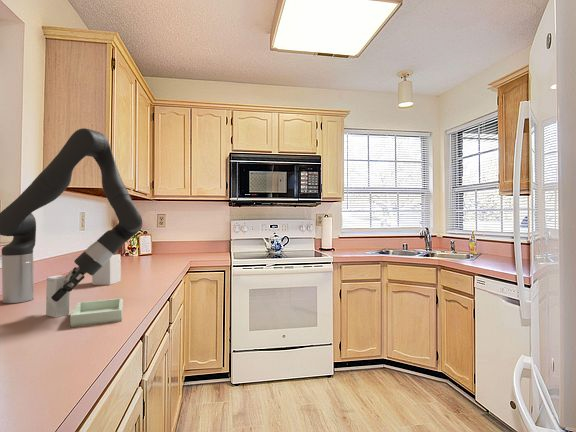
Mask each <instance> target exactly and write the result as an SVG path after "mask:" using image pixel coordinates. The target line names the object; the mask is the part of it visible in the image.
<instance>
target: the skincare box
mask: <svg viewBox="0 0 576 432" xmlns="http://www.w3.org/2000/svg"><path fill="white" fill-rule="evenodd" d="M66 279H67V277H66V275H59V274H58V275H53V276H47V277H46V301H45V302H46V303H45V310H46V311H45V315H46V316H49V317H50V318H60V317H65V316H68V315H70V294H71V293H70V292H71V291H70V292H68V293H66V294H65V295H64V296H63V297H62V298H61V299H60V300H59V301H57V302H56V301H54V300H53V299H52V298H51V297H52V296H53V295H54V294H55V293H56V292H57V291H58V290H59V289H60V288H61V286H62V285H63V284H64V283H65V282H64V281H65V280H66ZM68 286H69V285H68ZM69 287H70V286H69ZM61 289H62V288H61Z"/></svg>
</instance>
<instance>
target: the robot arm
mask: <svg viewBox="0 0 576 432" xmlns="http://www.w3.org/2000/svg"><path fill="white" fill-rule="evenodd" d="M112 150H113V149H112V147H111V145H110V142H109V140H108V138H107V137H106V135H105V134H103V133H101V132H99V131H96V130H93V129H89V128H79V129H77V130H75V131H74V132H73V133H72V134H71V135H70V137H69V138H68V140H67V141H66V142H65V143H64V145H63V147H61V149H60V151H59V152H58V153H57V154H56V156H55V157H54V158H53V159H52V160H51V161H50V163H49V164H48V165H47V166H46V167H45V168H43V170H42V171H41V172H40V173H39V174H38V175H37V176H36V177H35V179H34V180H33V181H32V182H31V183H30V184H29V185H28V186H27V188H25V189H24V191H22V193H21V194H20V195H19V196H18V197H17V198H16V199H15V200H14V201H12V202H11V203H10V204H8V205H7V206H6V207H5V208H4V209H2V211H0V236H3V237H13V238H12V240H11V242H10V243H8V244H6V245H5V246H3V247H2V248H1V278H2V279H1V284H2V286H1V287H2V289H1V292H2V297H1V299H2V300H1V301H2V302H1V303H3V304H17V303H25V302H28V301H31V300H34V296H35V295H34V293H35V289H34V288H35V287H34V285H35V284H34V283H35V282H34V248H35V245H36V237H37V236H36V235H37V221H36V218H35V217H36V216H34V214H33V212H35V211H37V210H38V209H40V208H42V207H45V206H46V205H48V204H50V203H52V202H53V201H55V200H56V199H58V198H59V197H60V196H61V195H62V194H63V193H64V192H65V191H66V190H67V189H68V187H69V186H70V184H71V182H72V175H73V170H74V169H75V167H76V166H77V165H78V163H80V162H81V161H82V160H83V159H84V158H86V157H90V158H93V159H94V161H95V162H96V163H97V165H98V168H99V169H100V174H101V187H102V190H103V193H104V195H105V197H106V199H107V200H108V202H109V205H110V206H111V208H112V209H113V210H114V214H115V215H116V217H117V219H118V220H117V221H118V223H117V224H116V225H115V226H114V227H113V228H112V229H109V230H107V231H106V232H104V234H102V235H101V236H100V237H98V238H97V239H96V241H95V242H93V243H92V244H90V245H89V246H88V247H87V248H86V249H85V250H84V251H83V252H82V253H81V254H80V255H78V257H77V258H75V259H74V260H73V261H74V264H75V265H77V266H78V267H77V266H74V268H72V269H71V270H70V271H69V272H68V273H67V274H66V275H65V276H66V277H67V279H66V280H65V281H64V282H65V283H64V284H63V285H62V286H61V288H62V289H61V288H60V289H59V290H58V291H57V292H56V293H55V294H54V295H53V296H52V297H51V298H52V299H53V300H54V301H56V302H57V301H59V300H60V299H61V298H62V297H63V296H64V295H65V294H66V293H68V292H72V291H73V289H75V287H76V286H78V285H79V284H80V283H81V281H83V280H84V279H85V277H86V276H85V275H86V274H88V275H89V276H92V275H94V274H95V273H96V272H97V271H98V270H99V269H100V268H101V267H102V266H103V265H104V264H105V263H106V262H107V261H108V260H109V259H110V258H111V257H112V255H113V254H116V253H117V252H118V251H119V250H120V249H121V248H122V246H123V245H125V243H126V242H128V241H129V240H130V239H132V238H133V237H134V236H135V235H137V234H138V233H139V231H141V229H142V228H143V217H142V215H141V214H140V212H139V210H138V209H137V206H136V205H135V204H134V202H133V199H132V197H131V195H130V193H129V191H128V189H127V187H126V186H125V183H124V182H123V179H122V177H121V174H120V172H119V169H118V166H117V163H116V160H115V157H114V154H113V151H112ZM68 285H69V286H70V287H69V286H68Z"/></svg>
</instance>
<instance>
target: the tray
mask: <svg viewBox="0 0 576 432" xmlns="http://www.w3.org/2000/svg"><path fill="white" fill-rule="evenodd" d="M123 301H124V300H123V298H122V297H121V298H111V299H99V300H91V301H90V300H89V301H79V302H77V303H76V306H75V307H74V309H73V311H72V312H71V314H70V321H69V322H70V328H75V327H77V328H78V327H85V325H86V326H92V325H93V324H94V325H100V324H101V325H102V324H108V323H117V322H122V320H123V310H124V309H123V308H124V307H123V305H124V304H123V303H124V302H123Z"/></svg>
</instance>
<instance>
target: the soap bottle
mask: <svg viewBox="0 0 576 432" xmlns="http://www.w3.org/2000/svg"><path fill="white" fill-rule="evenodd" d="M121 259H122V257H121V253H114V254H113V255H112V257H111V258H110V259H109V260H108V261H107V262H106V263H105V264H104V265H103V266H102V267H101V268H100V269H99V270H98V271H97V272H96V273H95V274H94V275H91V278H92V279H91V281H92V282H91V283H92V285H94V286H111V285H114V284H116V283H120V282H121V281H122V267H121V265H122V262H121V261H122V260H121Z"/></svg>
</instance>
